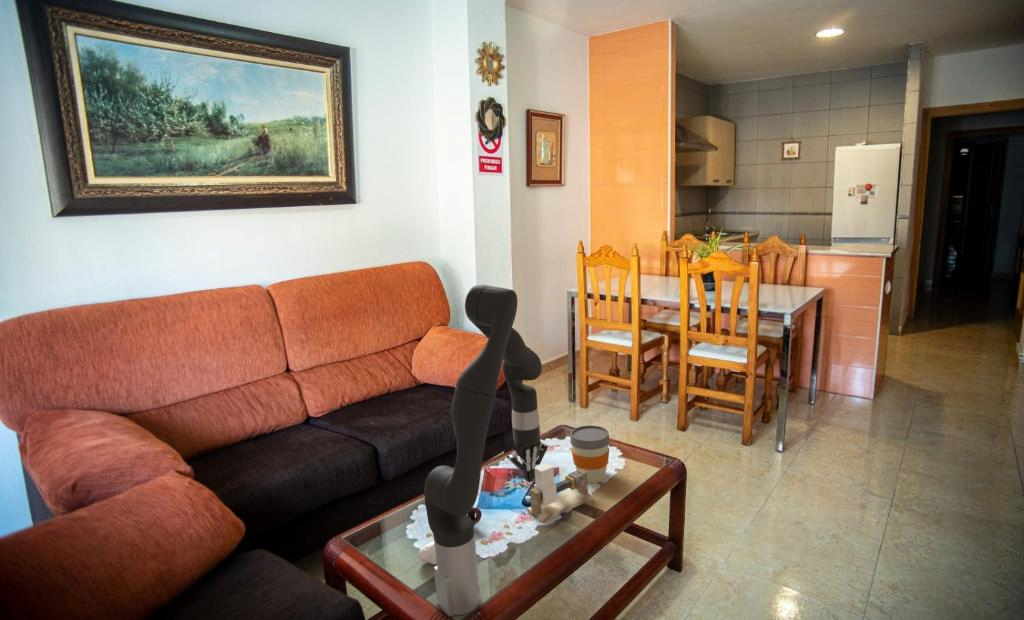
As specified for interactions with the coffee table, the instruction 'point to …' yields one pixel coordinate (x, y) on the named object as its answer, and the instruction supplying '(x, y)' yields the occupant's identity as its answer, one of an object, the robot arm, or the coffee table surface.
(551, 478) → the cream upright block
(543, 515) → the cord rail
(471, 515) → the pottery mug
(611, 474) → the coffee table surface
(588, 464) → the reusable coffee cup
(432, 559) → the duck figurine
